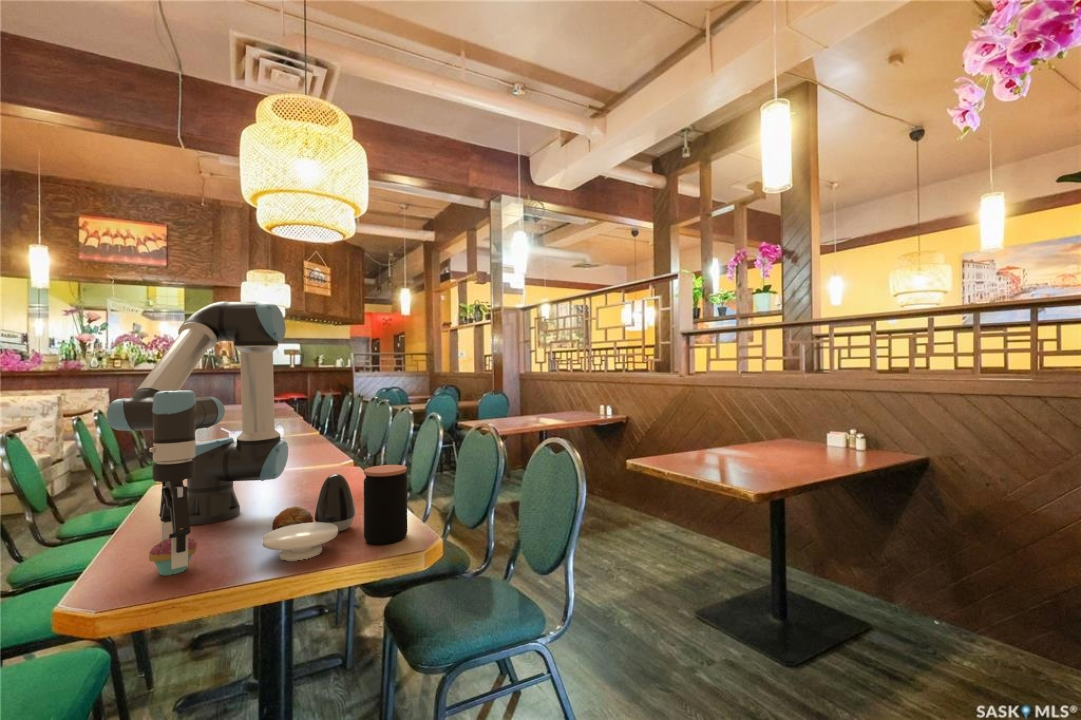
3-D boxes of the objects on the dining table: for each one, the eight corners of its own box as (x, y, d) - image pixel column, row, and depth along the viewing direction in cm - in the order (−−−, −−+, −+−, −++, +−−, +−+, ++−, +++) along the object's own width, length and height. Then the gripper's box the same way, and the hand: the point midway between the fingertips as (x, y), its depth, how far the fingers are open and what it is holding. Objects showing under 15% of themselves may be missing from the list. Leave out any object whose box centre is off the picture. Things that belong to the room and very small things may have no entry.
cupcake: (167, 564, 111) (167, 511, 111) (206, 562, 111) (206, 509, 112) (138, 580, 102) (138, 522, 103) (181, 578, 103) (181, 521, 103)
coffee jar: (416, 536, 128) (415, 467, 128) (382, 549, 119) (382, 474, 119) (389, 529, 133) (388, 463, 134) (355, 541, 125) (354, 470, 125)
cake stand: (253, 554, 116) (253, 533, 116) (322, 537, 127) (322, 518, 128) (275, 573, 105) (275, 550, 105) (349, 553, 116) (349, 532, 116)
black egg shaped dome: (354, 522, 141) (354, 468, 141) (356, 532, 131) (356, 475, 131) (315, 527, 137) (315, 472, 137) (314, 538, 127) (314, 479, 127)
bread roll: (316, 539, 137) (322, 510, 141) (296, 535, 128) (304, 503, 131) (282, 539, 138) (290, 509, 142) (261, 534, 129) (269, 503, 132)
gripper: (144, 456, 114) (144, 548, 113) (162, 471, 96) (161, 580, 95) (184, 452, 119) (183, 540, 118) (207, 465, 101) (207, 569, 101)
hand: (173, 558), depth 107 cm, fingers open, 13 cm apart
